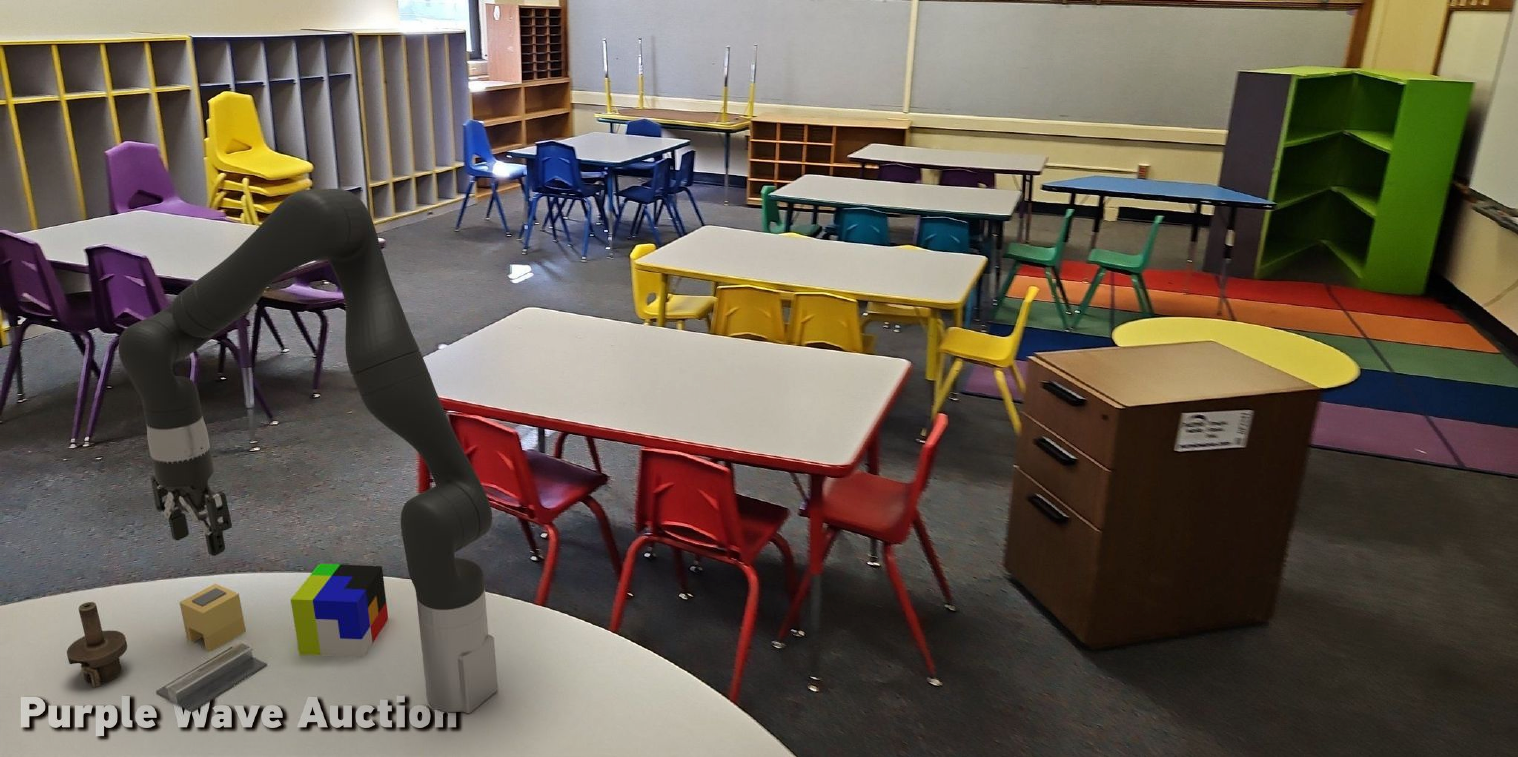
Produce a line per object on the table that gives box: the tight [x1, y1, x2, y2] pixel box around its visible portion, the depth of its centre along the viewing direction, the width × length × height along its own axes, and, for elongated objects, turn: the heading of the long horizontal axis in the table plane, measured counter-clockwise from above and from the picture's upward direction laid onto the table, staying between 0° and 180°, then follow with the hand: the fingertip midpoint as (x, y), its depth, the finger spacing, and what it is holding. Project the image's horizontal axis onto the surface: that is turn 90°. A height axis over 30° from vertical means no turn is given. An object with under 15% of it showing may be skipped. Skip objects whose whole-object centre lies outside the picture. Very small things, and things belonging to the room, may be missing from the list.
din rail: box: [155, 642, 268, 713], centre depth 146 cm, size 8×12×2 cm, turn 152°
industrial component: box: [66, 601, 128, 688], centre depth 145 cm, size 9×7×12 cm
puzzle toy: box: [290, 563, 389, 658], centre depth 156 cm, size 10×10×10 cm
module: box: [179, 583, 246, 652], centre depth 155 cm, size 6×6×7 cm
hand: (198, 545), depth 150 cm, fingers open, 8 cm apart
